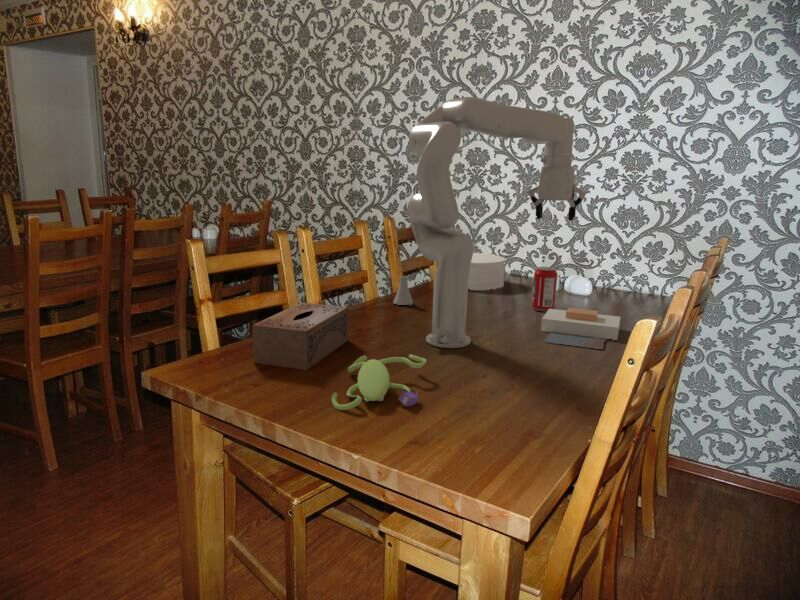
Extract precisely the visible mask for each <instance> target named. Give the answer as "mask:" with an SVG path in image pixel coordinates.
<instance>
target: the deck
mask: <svg viewBox="0 0 800 600" xmlns="http://www.w3.org/2000/svg"><path fill="white" fill-rule="evenodd" d="M566 311H567V309H566V310H565V309H557V308H556V309H555V308H554V309H548V311H547V312H545V314H544V315H543V317H542V318H541V323H540V325H541V327H540V332H546V333H550V332H558V333H566V334H574V335H583V336H590V337H599V338H606V340H607V339H613V340H612V341H614V340H617V341H618V337H619V332H620V325H621V318H622V317H621V316H616V315H610V314H609V315H608V314H601V313H600V314H599V313H598V318H597V321H596V322H595V321H586V320H578V319H569V318H566Z"/></svg>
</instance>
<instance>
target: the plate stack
mask: <svg viewBox="0 0 800 600" xmlns="http://www.w3.org/2000/svg"><path fill="white" fill-rule="evenodd" d="M505 263H506V258H505V257H504V256H501V255H498V254H497V255H496V254H491V253H481V252H473V256H472V260H471V264H470V269H469V277H468V289H470V290H469V291H491V290H490V289H493V290H498V289H497V288H499V289H501V287H502V288H503V287H504V286H505V276H504V275H505V274H506V270H505V268H506V264H505Z"/></svg>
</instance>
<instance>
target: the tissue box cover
mask: <svg viewBox="0 0 800 600" xmlns="http://www.w3.org/2000/svg"><path fill="white" fill-rule="evenodd" d="M346 341H347V342H348V341H349V307H348V306H341V305H330V304H322V303H321V304H320V303H309V302H299V303H297V304H295V305H293V306H291V307H288V308H286V309H285V310H282V311H279V312H278V313H275V314H273V315H271V316H269V317H267V318H264V319H263V320H260V321H257V322H256V323H254V324H252V343H253V344H252V346H253V347H252V348H253V363H254V364H260V365H261V364H262V365H267V366H268V365H269V366H274V367H275V366H276V367H283V368H289V369H297V370H303V371H307V370H308V369H310V368H312V367H313V366H314V365H316V364H317V363H319V362H320V361H322V360H323V359H324V358H326V356H328V355H330V354H332V353H333V352H334V351H335V350H337V349H338V348H340V347H341V346H342V345H344V344H345V343H347V342H346Z"/></svg>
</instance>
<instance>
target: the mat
mask: <svg viewBox="0 0 800 600" xmlns="http://www.w3.org/2000/svg"><path fill="white" fill-rule="evenodd" d="M591 338H594V337H590V336H582V335H574V334H566V333H558V332H549V334H548V335H547V338H546V339H545V340H544V343H545V344H550V343H554V344H553V345H558V344H563V345H562V346H565V345H572V346H571V347H573V346H580V347H581V346H583V345H582V344H584V343H585V342H586V343H588V339H589V340H592V342H591V344H593V343H594V340H593V339H591ZM596 338H597V337H596ZM596 338H594V339H595V340H597V341H599V340H598V339H596ZM580 339H581V340H582V341H583V342H581V343H579V342H580ZM599 339H600V341H606V340H607V339H605V338H602V339H601V338H599ZM600 341H599V342H600ZM606 342H607V341H606ZM586 343H585V344H586ZM591 344H590V343H589V344H588V345H591ZM588 345H587V346H588ZM580 347H579V348H580ZM588 347H591V346H588Z"/></svg>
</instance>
